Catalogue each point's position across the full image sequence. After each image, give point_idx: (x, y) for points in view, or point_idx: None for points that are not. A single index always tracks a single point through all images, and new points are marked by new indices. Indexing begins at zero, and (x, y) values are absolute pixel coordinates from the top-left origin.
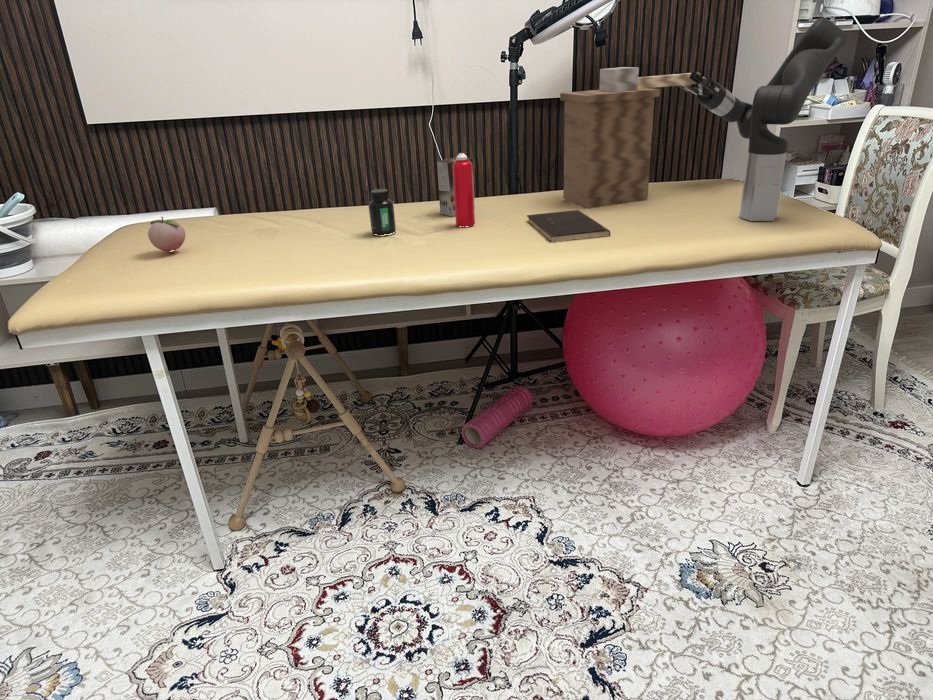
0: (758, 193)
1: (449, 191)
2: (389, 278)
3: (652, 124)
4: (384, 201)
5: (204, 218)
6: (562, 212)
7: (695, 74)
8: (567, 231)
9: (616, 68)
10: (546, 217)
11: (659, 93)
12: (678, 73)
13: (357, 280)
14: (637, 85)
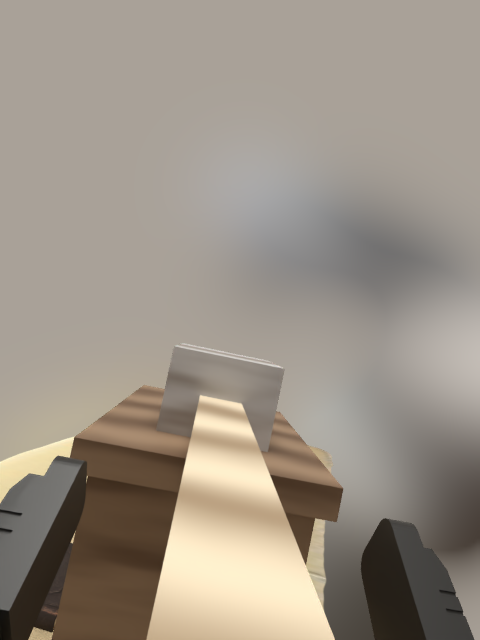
0: None
1: None
2: (45, 447)
3: (61, 598)
4: None
5: (325, 463)
6: None
7: (24, 487)
8: None
9: (225, 353)
10: (67, 559)
11: (70, 456)
12: (398, 568)
13: (63, 442)
14: (160, 413)
